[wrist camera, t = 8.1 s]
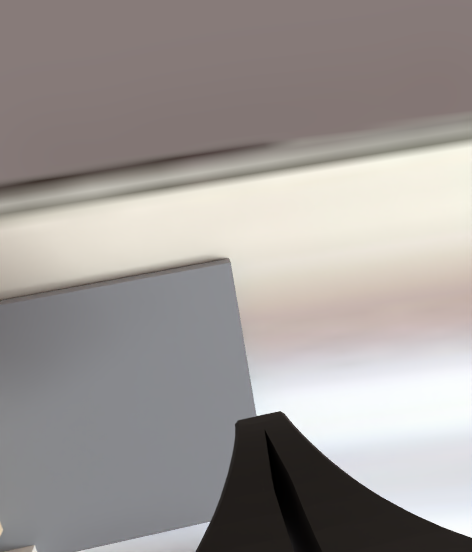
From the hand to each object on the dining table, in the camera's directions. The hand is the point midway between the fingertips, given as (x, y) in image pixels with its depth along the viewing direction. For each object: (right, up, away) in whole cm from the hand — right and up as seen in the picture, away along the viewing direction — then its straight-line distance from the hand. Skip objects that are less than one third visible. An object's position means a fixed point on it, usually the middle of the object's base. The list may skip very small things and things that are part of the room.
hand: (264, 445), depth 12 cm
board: (-13, -3, +10) cm, 16 cm away
